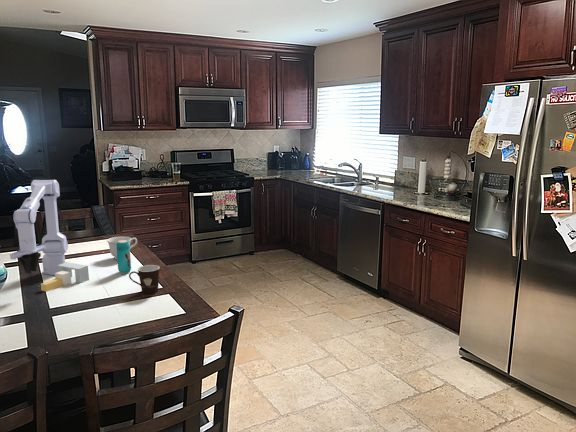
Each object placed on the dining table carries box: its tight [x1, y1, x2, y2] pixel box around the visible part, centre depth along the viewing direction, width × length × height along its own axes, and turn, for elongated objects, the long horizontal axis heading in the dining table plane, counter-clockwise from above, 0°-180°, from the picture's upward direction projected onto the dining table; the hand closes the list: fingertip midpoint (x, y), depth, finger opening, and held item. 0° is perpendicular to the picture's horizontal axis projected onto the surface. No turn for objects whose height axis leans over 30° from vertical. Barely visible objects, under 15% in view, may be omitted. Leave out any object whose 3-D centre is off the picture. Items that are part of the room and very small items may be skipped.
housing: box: [58, 261, 90, 284], centre depth 208 cm, size 12×5×6 cm, turn 67°
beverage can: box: [116, 240, 132, 275], centre depth 217 cm, size 6×6×15 cm
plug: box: [40, 271, 72, 293], centre depth 199 cm, size 4×12×5 cm, turn 157°
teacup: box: [106, 235, 138, 261], centre depth 240 cm, size 12×15×10 cm
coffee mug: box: [128, 264, 160, 295], centre depth 195 cm, size 12×9×10 cm
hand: (30, 271), depth 188 cm, fingers closed
